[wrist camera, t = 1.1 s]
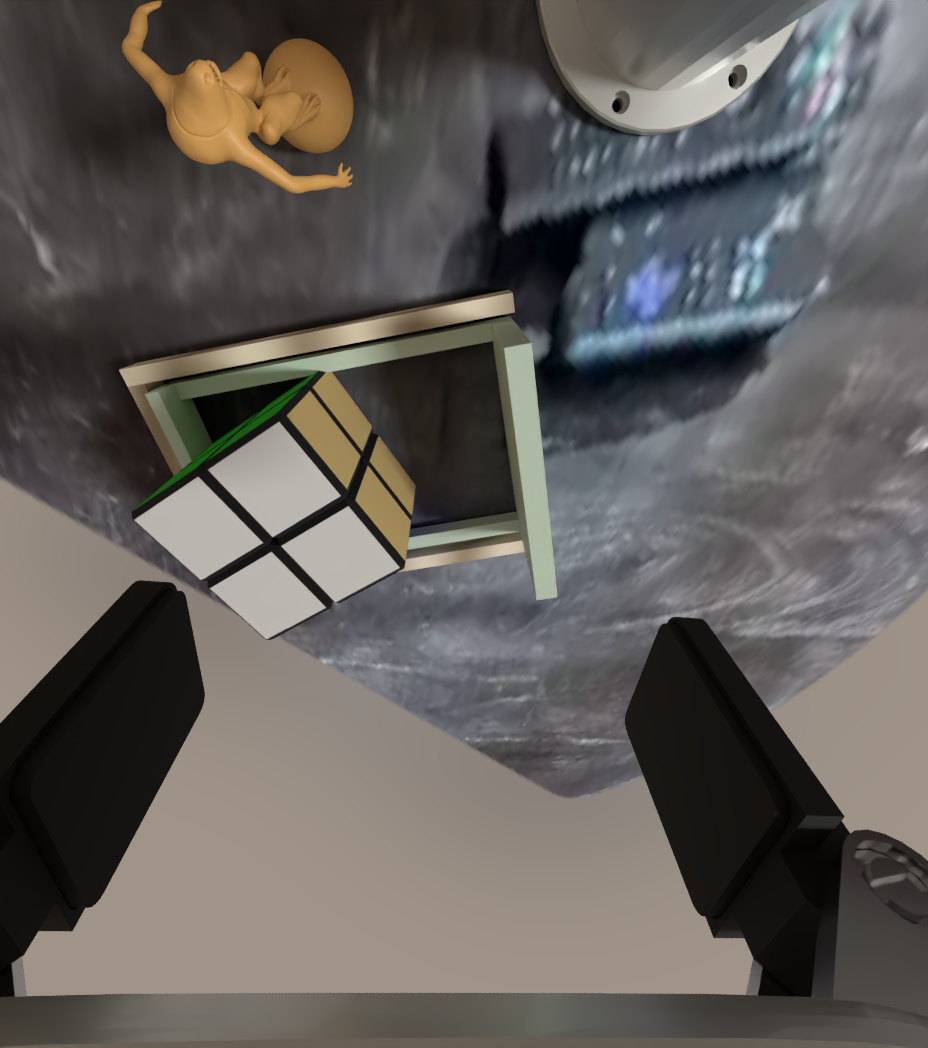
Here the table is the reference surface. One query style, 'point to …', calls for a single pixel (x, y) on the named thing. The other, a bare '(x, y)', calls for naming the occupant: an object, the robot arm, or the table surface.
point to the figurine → (252, 105)
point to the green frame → (508, 344)
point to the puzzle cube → (288, 509)
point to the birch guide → (155, 371)
